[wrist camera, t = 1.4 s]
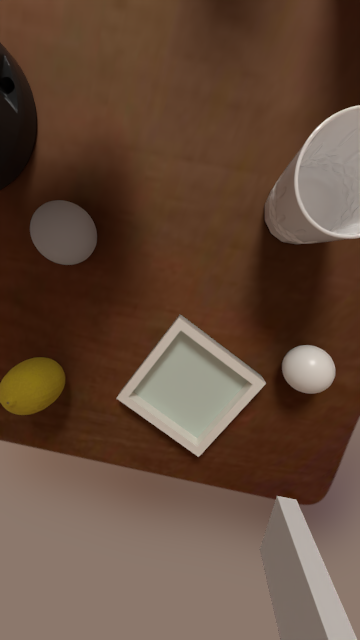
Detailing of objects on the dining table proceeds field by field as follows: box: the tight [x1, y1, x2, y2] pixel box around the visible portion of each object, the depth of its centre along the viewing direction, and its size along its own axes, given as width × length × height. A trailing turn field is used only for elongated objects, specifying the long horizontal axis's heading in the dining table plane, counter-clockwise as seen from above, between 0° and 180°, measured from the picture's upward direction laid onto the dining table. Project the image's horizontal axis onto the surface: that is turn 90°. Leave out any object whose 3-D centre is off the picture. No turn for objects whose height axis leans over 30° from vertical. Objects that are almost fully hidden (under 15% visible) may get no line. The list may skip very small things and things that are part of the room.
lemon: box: [0, 357, 65, 415], centre depth 27 cm, size 6×6×8 cm
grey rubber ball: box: [30, 200, 97, 265], centre depth 25 cm, size 6×6×6 cm
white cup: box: [265, 105, 360, 244], centre depth 21 cm, size 8×8×10 cm
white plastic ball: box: [282, 345, 335, 394], centre depth 27 cm, size 5×5×5 cm
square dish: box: [117, 315, 266, 457], centre depth 29 cm, size 12×12×2 cm
